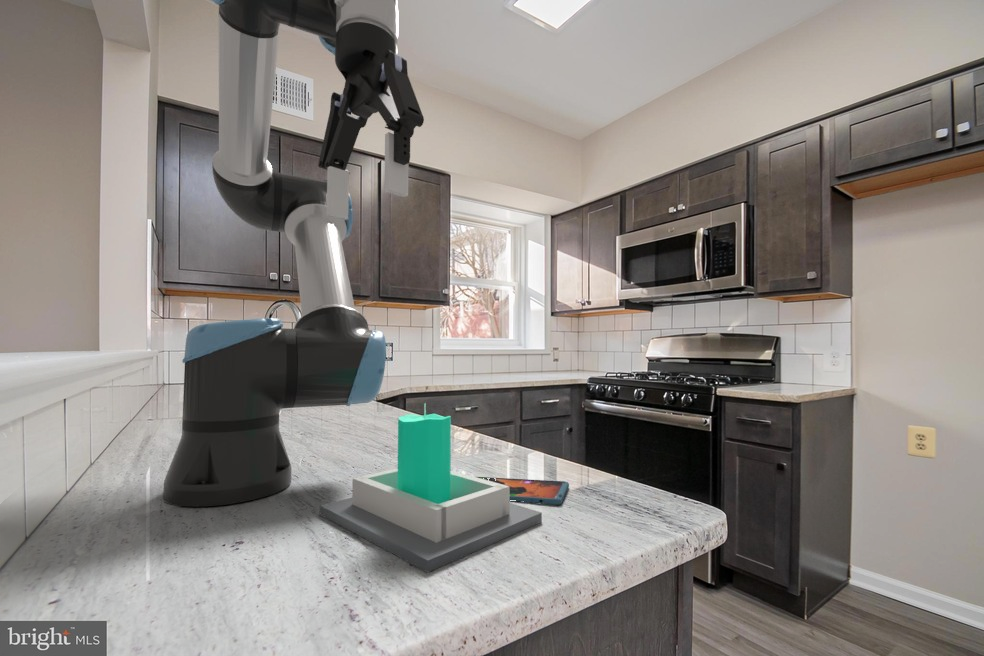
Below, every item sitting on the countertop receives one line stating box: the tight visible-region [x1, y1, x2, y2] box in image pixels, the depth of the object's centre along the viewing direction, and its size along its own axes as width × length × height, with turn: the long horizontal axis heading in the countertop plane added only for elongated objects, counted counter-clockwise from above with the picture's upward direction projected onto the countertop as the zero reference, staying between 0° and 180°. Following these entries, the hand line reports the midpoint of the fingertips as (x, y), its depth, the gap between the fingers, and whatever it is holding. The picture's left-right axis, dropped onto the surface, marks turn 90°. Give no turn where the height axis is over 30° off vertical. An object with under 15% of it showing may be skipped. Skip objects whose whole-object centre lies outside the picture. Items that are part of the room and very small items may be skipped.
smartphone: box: [476, 476, 570, 506], centre depth 62 cm, size 8×1×15 cm
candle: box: [397, 402, 452, 504], centre depth 52 cm, size 6×6×12 cm
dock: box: [319, 467, 543, 573], centre depth 52 cm, size 20×16×4 cm
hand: (364, 206), depth 56 cm, fingers open, 13 cm apart
